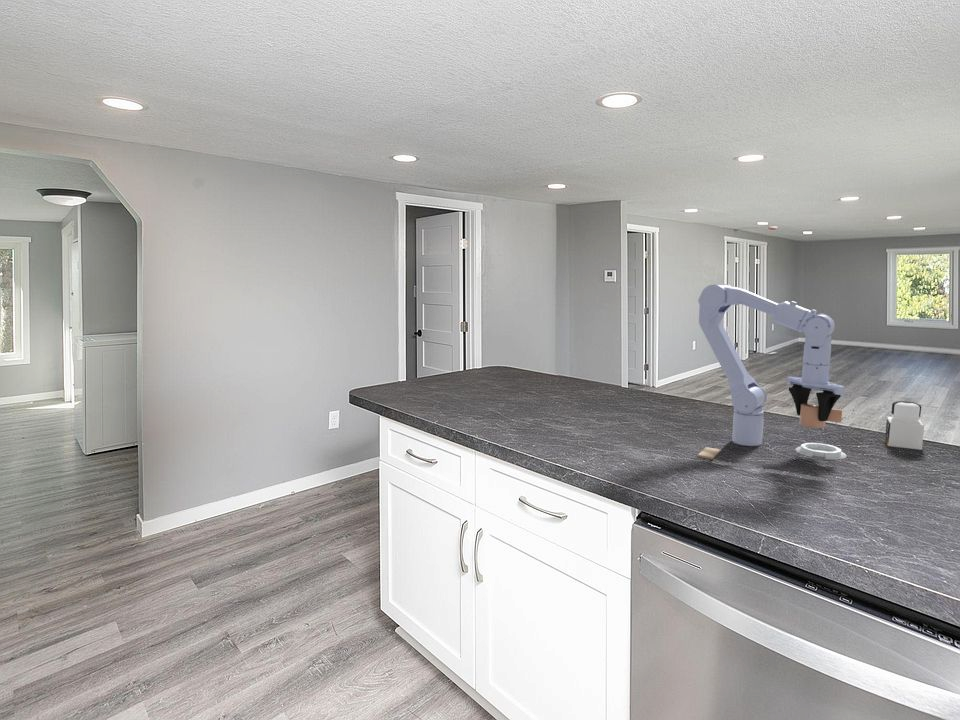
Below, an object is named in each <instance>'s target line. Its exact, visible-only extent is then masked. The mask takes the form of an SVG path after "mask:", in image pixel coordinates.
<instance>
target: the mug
mask: <svg viewBox="0 0 960 720" xmlns="http://www.w3.org/2000/svg"><path fill="white" fill-rule="evenodd" d="M818 411H819V406H818V403H813V402H811V403H810V402H807V403H802V404H801V409H800V416H799V423H798V425H800V426H802V427H806V428H811V429H812V428H814V429H824V428H826V423H827V422H830V423H831V422H832V423H842V419H843V418H842V417H843V409H841V408H840V409H838V408H832V410H831V412H830V414H829V417H828V420H827V421H819V419H818Z"/></svg>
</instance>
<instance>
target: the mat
mask: <svg viewBox="0 0 960 720" xmlns="http://www.w3.org/2000/svg"><path fill="white" fill-rule="evenodd" d="M721 450H722V448H721V449H720V448H716V447H715V448H714V447H713V448H712V447H708V446H705V448H703V449H702V450H701V451H700V452H699V453H698V454H697V458H703V459H707V460H708V459H709V460H716V461H719V459H717V458H715V457H716V456H717V455H718V454H719V453H720V452H721ZM721 461H722V462H725V460H724V459H723V460H722V459H720V462H721ZM726 462H727V463H731V461H729V460H726Z"/></svg>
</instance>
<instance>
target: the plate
mask: <svg viewBox="0 0 960 720" xmlns="http://www.w3.org/2000/svg"><path fill="white" fill-rule="evenodd" d="M795 451H796V453H799V454H800V455H802V456H807V457H810V458H814V459H815V458H816V459H821V460H842V459H846V458H847V454H846V453H845V452H843V451H842V449H841V448H840V447H837V446H835V445H832V444H828V443H821V442H805V443H802V444H800V446H797V447H796V448H795Z"/></svg>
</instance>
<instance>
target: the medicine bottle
mask: <svg viewBox="0 0 960 720" xmlns="http://www.w3.org/2000/svg"><path fill="white" fill-rule="evenodd" d="M921 413H922V406H921V404H920V403H919V404H918V403H917V402H914V401H907V400H898V401H894V402H892V405H891V413H890V414H891V416H887V417H886V423H885V424H886V425H885V436H884V443H886V445H887V447H894V448H903V449H910V450H911V449H912V450H918V451H919V450H922V449H923V441H924V430H925V425H924V424H923V422H922V421H921V415H922V414H921Z"/></svg>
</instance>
